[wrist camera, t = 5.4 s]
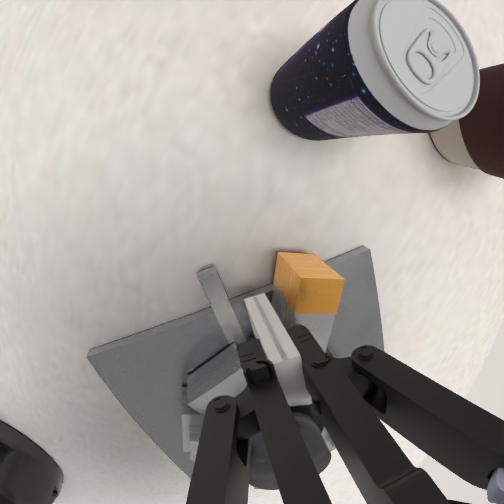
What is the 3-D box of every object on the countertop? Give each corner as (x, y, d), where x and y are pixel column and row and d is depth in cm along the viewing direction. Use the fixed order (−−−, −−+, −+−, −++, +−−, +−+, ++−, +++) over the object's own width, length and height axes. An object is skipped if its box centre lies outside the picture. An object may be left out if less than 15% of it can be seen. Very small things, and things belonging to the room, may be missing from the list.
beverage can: (361, 100, 19) (499, 72, 7) (316, 158, 19) (451, 168, 8) (301, 45, 17) (406, -42, 6) (248, 102, 18) (327, 29, 6)
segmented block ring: (184, 454, 24) (186, 493, 19) (184, 245, 18) (182, 273, 14) (323, 444, 27) (339, 477, 22) (384, 258, 21) (423, 282, 17)
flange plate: (198, 478, 27) (204, 536, 19) (69, 317, 19) (27, 385, 12) (397, 402, 28) (434, 448, 21) (374, 199, 21) (451, 223, 13)
